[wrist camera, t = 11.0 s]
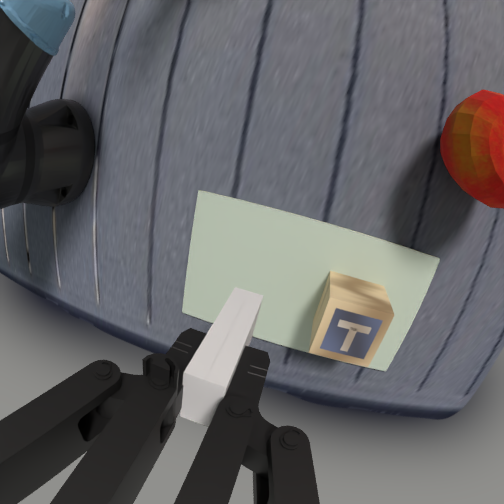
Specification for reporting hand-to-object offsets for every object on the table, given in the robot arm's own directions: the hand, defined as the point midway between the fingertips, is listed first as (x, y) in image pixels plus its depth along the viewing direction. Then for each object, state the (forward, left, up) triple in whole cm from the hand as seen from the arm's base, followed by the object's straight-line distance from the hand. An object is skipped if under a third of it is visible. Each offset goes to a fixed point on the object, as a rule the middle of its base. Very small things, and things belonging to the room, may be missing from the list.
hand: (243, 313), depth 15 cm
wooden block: (+8, -5, -9) cm, 13 cm away
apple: (+15, +14, -16) cm, 26 cm away
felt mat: (+3, -5, -16) cm, 17 cm away
